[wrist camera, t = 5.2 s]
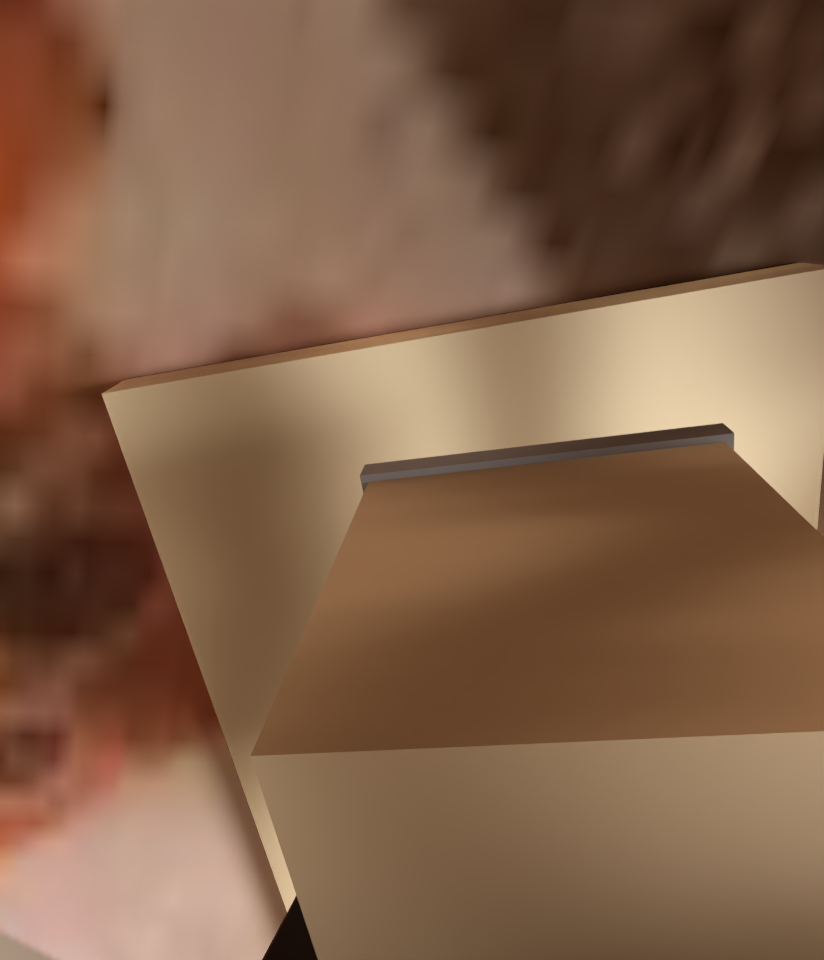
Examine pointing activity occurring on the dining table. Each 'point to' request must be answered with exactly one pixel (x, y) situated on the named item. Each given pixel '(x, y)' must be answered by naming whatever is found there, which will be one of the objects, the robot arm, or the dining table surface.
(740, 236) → the dining table surface
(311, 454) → the board
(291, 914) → the robot arm
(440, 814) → the block
